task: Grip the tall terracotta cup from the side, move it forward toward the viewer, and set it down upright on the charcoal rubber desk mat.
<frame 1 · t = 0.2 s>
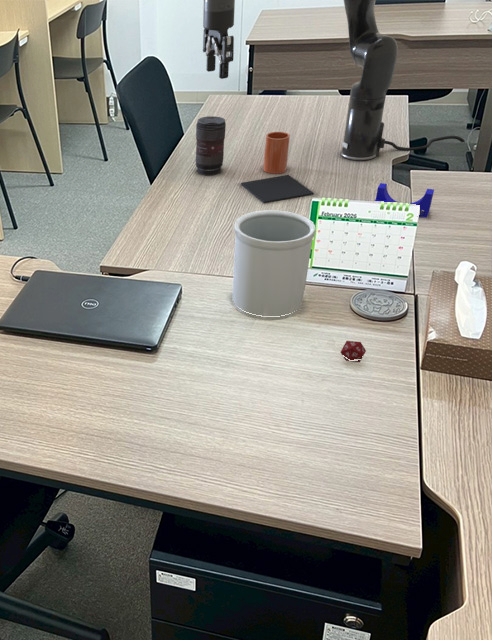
hand: (217, 74, 184), 29 cm above the table, tool pointing down, fingers open, 8 cm apart
utensil holder: (267, 303, 145), on the table
desk mat: (276, 189, 191), on the table
cup: (274, 169, 202), on the table
camera lens: (209, 171, 206), on the table
dice: (351, 361, 127), on the table
blue cradle bracket: (400, 213, 173), on the table
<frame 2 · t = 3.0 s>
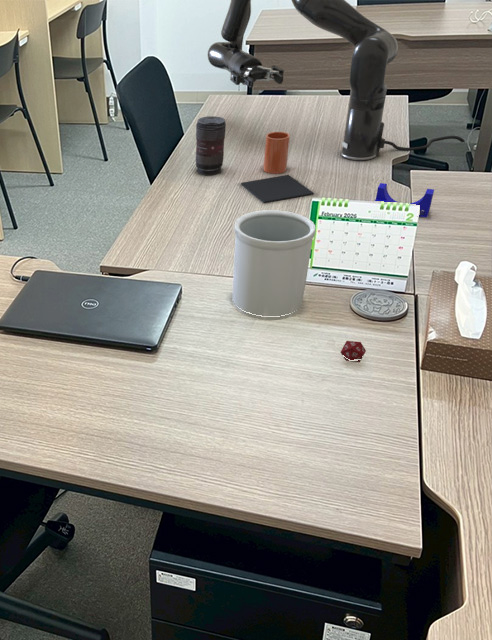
hand: (266, 82, 199), 22 cm above the table, tool horizontal, fingers open, 8 cm apart
nothing on the table moved.
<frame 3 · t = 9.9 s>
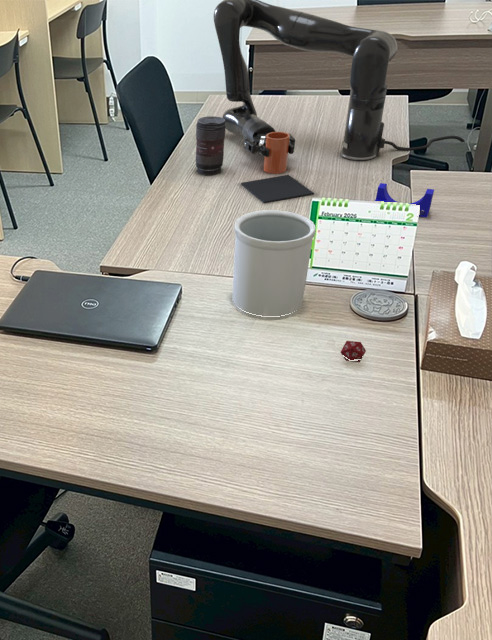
hand: (280, 152, 197), 6 cm above the table, tool horizontal, fingers closed on cup, 6 cm apart
cup: (274, 169, 202), on the table, touching gripper
everything else where it was.
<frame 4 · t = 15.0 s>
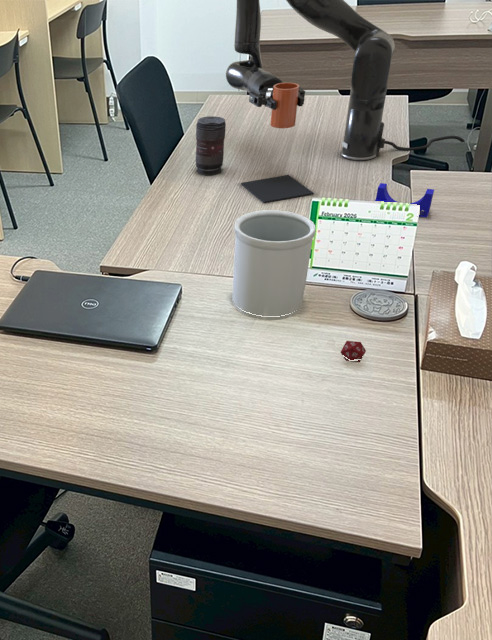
hand: (288, 104, 181), 22 cm above the table, tool horizontal, fingers closed on cup, 6 cm apart
cup: (282, 124, 186), point 16 cm above the table, touching gripper
everything else where it was.
when the fingers open (7 cm above the table, at t = 20.4 s): cup stays where it is, resting on desk mat.
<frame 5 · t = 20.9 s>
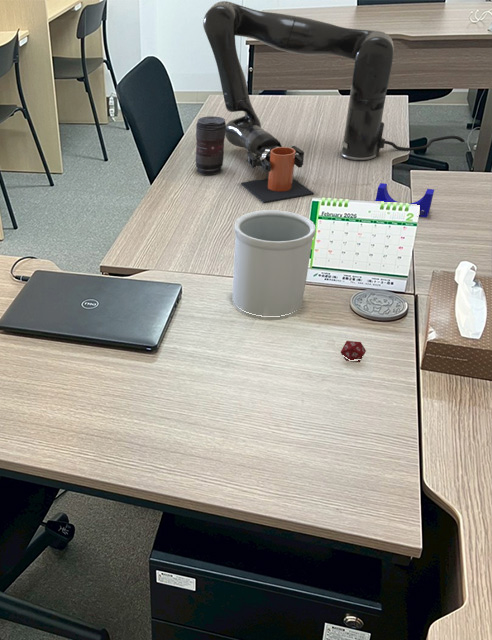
hand: (285, 166, 185), 7 cm above the table, tool horizontal, fingers open, 8 cm apart
cup: (279, 187, 191), resting on desk mat
everything else where it was.
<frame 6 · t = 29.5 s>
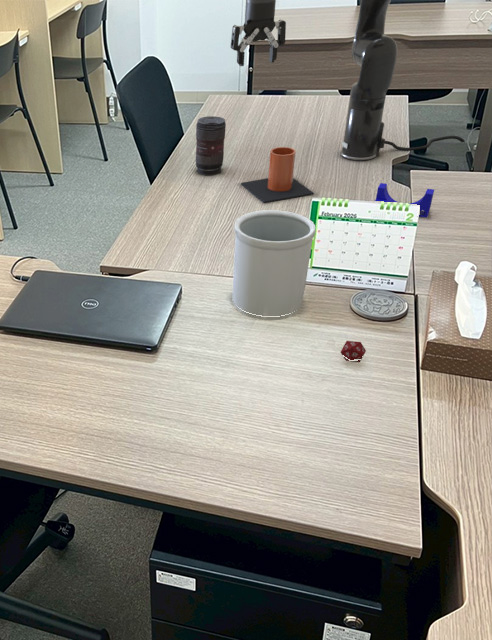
hand: (256, 63, 193), 28 cm above the table, tool pointing down, fingers open, 8 cm apart
nothing on the table moved.
at the end: cup inside the target area on the desk mat (0.9 cm from its centre), point 0.5 cm above the desk mat's base; cup tilted 0°; cup moved 13.9 cm from its start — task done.
